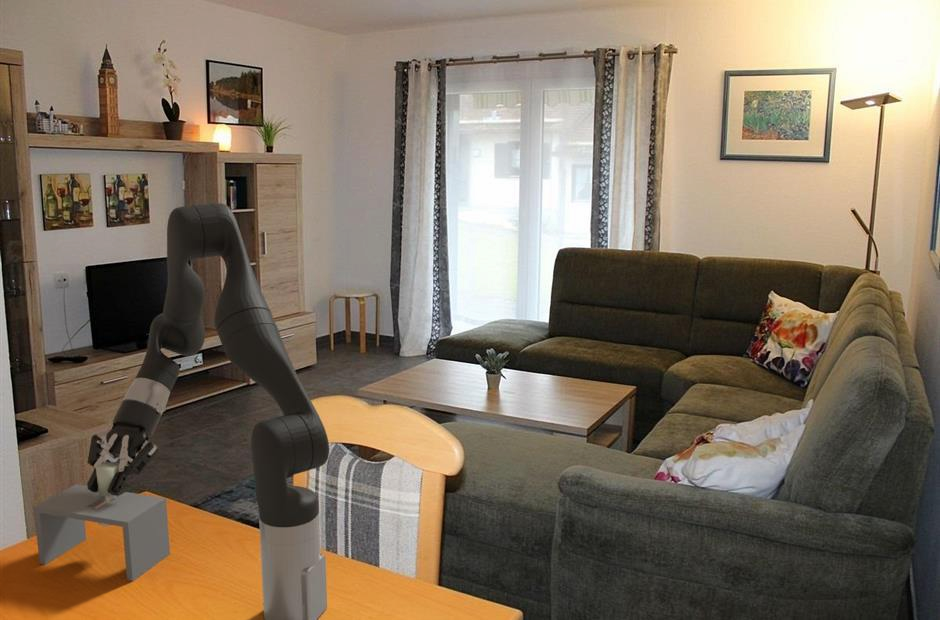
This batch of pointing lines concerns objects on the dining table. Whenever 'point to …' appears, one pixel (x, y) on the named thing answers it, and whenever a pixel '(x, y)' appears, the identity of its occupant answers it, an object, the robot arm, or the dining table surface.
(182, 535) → the dining table surface
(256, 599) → the dining table surface
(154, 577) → the dining table surface
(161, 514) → the slotted rack
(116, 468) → the wine glass
